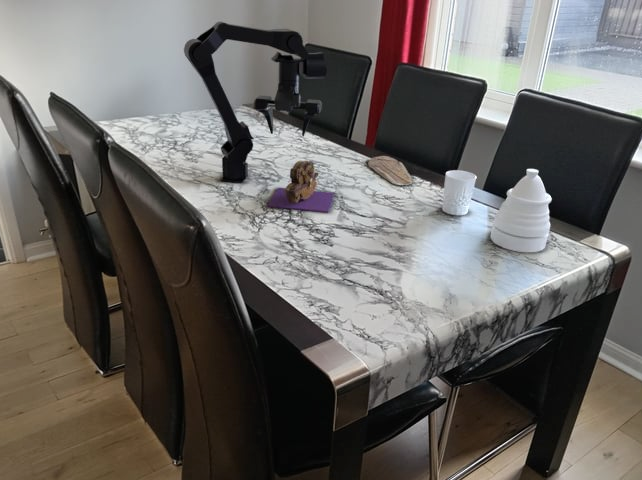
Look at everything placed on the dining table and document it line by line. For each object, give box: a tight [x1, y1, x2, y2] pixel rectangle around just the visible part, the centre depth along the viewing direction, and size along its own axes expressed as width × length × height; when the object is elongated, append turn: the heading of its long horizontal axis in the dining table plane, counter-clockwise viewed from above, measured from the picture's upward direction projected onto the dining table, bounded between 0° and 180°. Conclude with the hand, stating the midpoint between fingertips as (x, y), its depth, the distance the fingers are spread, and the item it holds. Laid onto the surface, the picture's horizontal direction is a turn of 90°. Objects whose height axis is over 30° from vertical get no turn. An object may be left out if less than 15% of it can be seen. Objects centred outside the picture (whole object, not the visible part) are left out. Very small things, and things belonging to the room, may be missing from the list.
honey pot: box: [490, 168, 553, 253], centre depth 135 cm, size 13×13×18 cm
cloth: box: [267, 187, 335, 214], centre depth 156 cm, size 16×14×1 cm
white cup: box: [441, 169, 477, 216], centre depth 152 cm, size 8×8×10 cm
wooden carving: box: [285, 160, 320, 203], centre depth 153 cm, size 16×5×10 cm, turn 161°
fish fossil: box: [367, 155, 413, 186], centre depth 181 cm, size 26×10×1 cm, turn 18°
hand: (287, 134), depth 168 cm, fingers open, 9 cm apart
